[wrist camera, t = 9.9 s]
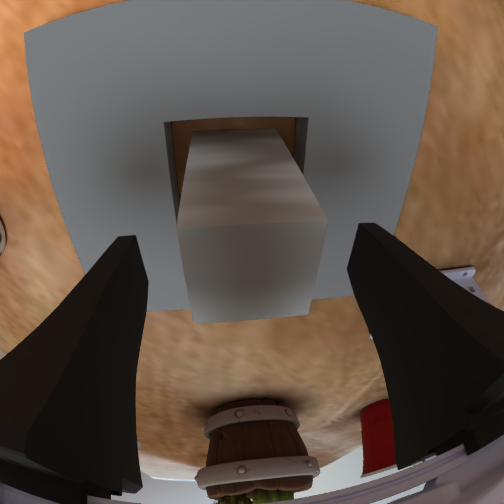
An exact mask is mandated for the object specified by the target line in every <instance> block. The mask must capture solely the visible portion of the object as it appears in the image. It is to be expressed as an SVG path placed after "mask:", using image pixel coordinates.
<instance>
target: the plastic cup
mask: <svg viewBox="0 0 504 504" xmlns="http://www.w3.org/2000/svg"><path fill="white" fill-rule="evenodd" d="M360 417H361V426H362V431H361V432H362V444H363V458H364V460H363V473H362V475H361V477H366V476H370V475H374V474H377V473H380V472H384V471H387V470H390V469H393V468H396V467H397V465H396V461H395V444H394V431H393V422H392V414H391V407H390V401H389V399H386V400H382V401H378V402H376V403H373V404H371V405H369V406H367V407H365V408H364V409H363V410H362V411H361V416H360Z"/></svg>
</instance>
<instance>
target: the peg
mask: <svg viewBox="0 0 504 504" xmlns="http://www.w3.org/2000/svg"><path fill="white" fill-rule="evenodd" d="M327 222H328V220H327V218H326V216H325V214H324V212H323V211H322V209H321V207H320V205H319V203H318V201H317V199H316V198H315V196H314V194H313V192H312V190H311V188H310V187H309V185H308V183H307V181H306V180H305V178H304V176H303V174H302V172H301V171H300V169H299V167H298V165H297V164H296V162H295V160H294V159H293V157H292V155H291V153H290V152H289V150H288V148H287V147H286V145H285V143H284V142H283V140H282V138H281V137H280V135H279V133H278V132H277V130H276V129H230V130H210V131H195V132H192V137H191V143H190V148H189V153H188V159H187V164H186V170H185V175H184V181H183V187H182V194H181V200H180V206H179V213H178V220H177V227H176V230H177V236H178V242H179V248H180V254H181V260H182V265H183V271H184V276H185V281H186V287H187V292H188V297H189V302H190V307H191V312H192V316H193V321H194V324H195V323H213V322H229V321H243V320H255V319H267V318H278V317H288V316H298V315H308V313H309V308H310V304H311V300H312V295H313V291H314V286H315V282H316V277H317V272H318V268H319V263H320V258H321V253H322V248H323V243H324V238H325V233H326V227H327Z"/></svg>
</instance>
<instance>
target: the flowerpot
mask: <svg viewBox="0 0 504 504" xmlns="http://www.w3.org/2000/svg"><path fill="white" fill-rule="evenodd" d="M299 426H300V424H299V421H298V419H297V417H296V415H295V413H294V411H293V410H291V409H290V408H288V407H287V405H286V404H285V403H280V404H278V405H276V404H275V402H274V401H273V400H271V399H265V400H262V401H261V400H258V399H251V400H244V401H236V402H231V403H228V404H226V405H224V407H223V406H221V407H219V408H218V409H216V410H215V411H214V413H213V416H211V417H210V418H209V419H208V420H207V423H205V424H204V428H205V431H204V434H205V436H206V437H207V438H208V439H210V443H209V449H208V455H207V461H206V467H205V468H202V469H200V470H199V471H198V473H197V476H195V480H196V481H197V483H198V486H199V488H200V489H203V490H207V495H208V497H209V498H210V499H215V500H219V501H218V503H216V504H262V503H271V502H279V501H286V500H292V499H294V497H293V496H294V493H295V492H300V491H304V490H308V489H310V488H311V487H312V481H313V478H315V477H317V476H318V475H319V474H320V469H319V465H318V461H317V459H316V458H314V457H311V456H308V452H307V449H306V447H305V445H304V443H303V441H302V439H301V437H300V435H299V433H298V431H297V429H298V428H299ZM250 499H252V500H253V501H254V502H253V501H251V500H250Z"/></svg>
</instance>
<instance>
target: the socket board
mask: <svg viewBox="0 0 504 504" xmlns="http://www.w3.org/2000/svg"><path fill="white" fill-rule="evenodd" d="M437 27H438V26H435V25H433V24H430V23H427V22H424V21H422V20H419V19H416V18H413V17H410V16H407V15H403V14H400V13H397V12H394V11H390V10H386V9H383V8H379V7H375V6H371V5H367V4H363V3H358V2H353V1H349V0H127V1H123V2H118V3H114V4H109V5H105V6H101V7H97V8H94V9H90V10H86V11H83V12H80V13H76V14H73V15H70V16H67V17H64V18H61V19H58V20H55V21H52V22H50V23H47V24H44V25H42V26H39V27H37V28H34V29H32V30H29V31H27V32H25V33H24V39H25V51H26V61H27V70H28V77H29V84H30V91H31V97H32V103H33V108H34V113H35V118H36V123H37V128H38V132H39V137H40V141H41V145H42V149H43V153H44V157H45V161H46V164H47V168H48V172H49V175H50V179H51V182H52V185H53V189H54V192H55V195H56V198H57V201H58V204H59V207H60V210H61V213H62V216H63V219H64V221H65V224H66V227H67V230H68V232H69V235H70V238H71V240H72V243H73V245H74V248H75V250H76V253H77V255H78V258H79V260H80V263H81V265H82V267H83V270H84V272H85V274H87V272H88V271H89V270H90V269H91V268H92V266H93V265H94V264H95V263H96V262H97V260H98V259H99V258H100V257H101V256H102V254H103V253H104V252H105V251H106V250H107V248H108V247H109V246H110V245H111V244H112V243H113V241H114V240H115V239H116V238H117V237H118V236H128V235H136V237H137V241H138V245H139V249H140V252H141V256H142V260H143V263H144V267H145V270H146V274H147V277H148V281H149V286H148V301H147V311H160V310H184V309H191V307H190V302H189V297H188V292H187V287H186V281H185V276H184V271H183V265H182V260H181V254H180V248H179V242H178V236H177V230H176V227H177V220H178V213H179V206H180V201H179V193H178V185H177V176H176V168H175V159H174V149H173V139H172V129H171V121H181V120H193V119H208V118H228V117H297V118H296V132H295V145H294V158H293V159H294V160H295V162H296V164H297V165H298V167H299V169H300V171H301V172H302V174H303V176H304V178H305V180H306V181H307V183H308V185H309V187H310V188H311V190H312V192H313V194H314V196H315V198H316V199H317V201H318V203H319V205H320V207H321V209H322V211H323V212H324V214H325V216H326V218H327V220H328V222H327V227H326V233H325V238H324V243H323V248H322V253H321V258H320V263H319V268H318V272H317V277H316V282H315V286H314V291H313V295H312V300H317V299H326V298H335V297H344V296H353V295H354V293H353V290H352V286H351V283H350V279H349V276H348V272H347V265H348V262H349V258H350V254H351V251H352V247H353V243H354V239H355V235H356V232H357V228H358V224H359V223H376V224H378V225H379V226H381V227H382V228H384V229H385V230H386V231H388V232H389V233H391V234H392V235H394V232H395V229H396V226H397V223H398V220H399V217H400V214H401V210H402V207H403V204H404V200H405V197H406V193H407V190H408V186H409V183H410V179H411V175H412V171H413V168H414V164H415V160H416V155H417V151H418V147H419V143H420V138H421V134H422V129H423V124H424V119H425V114H426V109H427V104H428V98H429V92H430V86H431V79H432V72H433V65H434V57H435V48H436V39H437Z"/></svg>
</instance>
